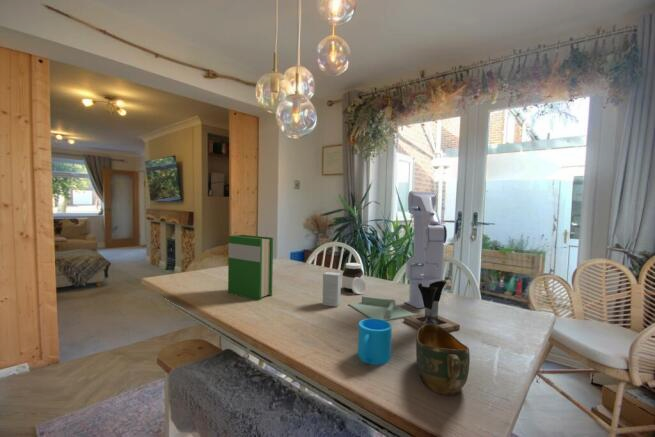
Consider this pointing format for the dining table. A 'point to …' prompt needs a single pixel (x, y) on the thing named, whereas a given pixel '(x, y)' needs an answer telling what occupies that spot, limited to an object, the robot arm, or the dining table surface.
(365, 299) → the sage V-block
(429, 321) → the metal axle
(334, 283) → the skincare box
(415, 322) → the brown square frame
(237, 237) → the hardback book
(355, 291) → the spread jar
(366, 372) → the dining table surface
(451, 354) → the cup
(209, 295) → the dining table surface
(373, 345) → the mug
